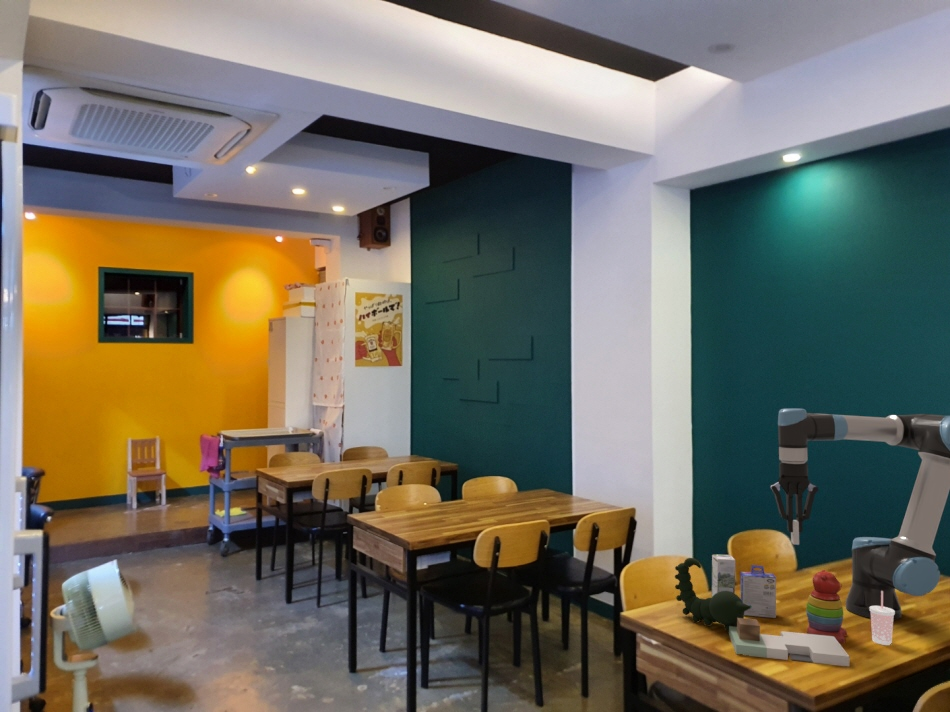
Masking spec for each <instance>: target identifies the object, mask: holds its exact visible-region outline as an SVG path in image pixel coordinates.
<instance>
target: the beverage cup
mask: <svg viewBox="0 0 950 712" xmlns="http://www.w3.org/2000/svg"><path fill="white" fill-rule="evenodd" d="M869 608H870V611H871V618H870V623H871V624H870V626H871V640H872V641H873V643H875V644H878V645H883V646H890V644H891V643H892V644H893V631H894V630H893V629H894V620H893V618H894V615H895V611H894V610H893V609H891V608H888V607H883V591H881V606H870V607H869ZM892 644H891V645H892Z"/></svg>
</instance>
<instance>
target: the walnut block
mask: <svg viewBox="0 0 950 712" xmlns="http://www.w3.org/2000/svg"><path fill="white" fill-rule="evenodd" d="M760 631H761V625H760V624H759V622H758V620H757V619H754V618H753V619H752V618H745V617H744V618H737V633H738V636H739V638H740V639H743V640H753V641H760V634H761V632H760Z"/></svg>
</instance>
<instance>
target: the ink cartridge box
mask: <svg viewBox="0 0 950 712" xmlns="http://www.w3.org/2000/svg"><path fill="white" fill-rule="evenodd" d="M756 568H757V570H755V569H756ZM750 569H751V570H750V571H740V599H741V600H742V602H743V603H744V604H746V605H748V606H750V609H748V610H746V611H745V612H744V616H747V617H749V616H750V617H758V618H759V617H760V618H770V619H775V618H776V617H777V577H776V576H775V574H774V573H771V572H770V573H767V572H765V570H764V565H757V564H756V565H755V564H752V565H750ZM758 569H759V570H758Z"/></svg>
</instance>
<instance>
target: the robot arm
mask: <svg viewBox="0 0 950 712" xmlns="http://www.w3.org/2000/svg"><path fill="white" fill-rule="evenodd" d="M777 426H778V446H779V447H778V455H779V456H778V459H779V464H778V467H779V471H778V472H779V475H778V479H777V482H775V483H774V484H770V485H769V487H770V489H771V490H772V493H773V495H774V499H775V502H776V506H777V509H778V513H779V517H780V518H782V519H784V520H786V523H787V524H786V529H787V531H788V533H790V541H791V544H793V545H795V546H796V545H797V546H799V545H800V533H803V522H804V521H806V520H807V521H808V520H810V516H811V514H812V509H813V504H814V500H815V495H816V494H817V493H818V491H819V487H818V486H816V485H814V484H812V483H811V480H810V479H809V467H808V466H809V465H808V463H807V462H808V442H813V441H815V442H817V441H822V442H823V441H833V442H834V441H842V440H850V441H851V440H852V441H865V442H867V441H868V442H869V441H870V442H880V443H881V442H884V443H886V444H887V445H889V446H897V447H904V448H907V449H913V450H916V451H917V452H918V453H917V454H918V456H919V457H920V459H921V463H920V466H919V469H918V473H917V476H916V480H915V482H914V485H913V489H912V492H911V495H910V499H909V502H908V505H907V508H906V511H905V515H904V518H903V519H902V524H901V527H900V531H899V533H898V535H897V536H896V537H894V538H886V537H875V536H872V537H871V536H862V537H861V536H860V537H854V539H853V540H852V547H851V556H852V557H851V559H852V561H851V562H852V563H851V567H852V568H851V570H852V573H851V574H852V577H851V580H852V582H851V586H850V589H849V592H848V594H847V597H846V598H845V599H846V600H845V608H846V609H847V611H849V612H851V613H853V614H855V615H857V614H858V616H861V617H865V618H868V617H869V619H871V611H870V608H869V607H870V606H881V591H883V607H888V608H891V609H893V610H894V611H895V615H894V618H893V621H894V619H895V620H899V619H901V618H902V606H901V605H900V601H899V598H898V596H897V593H896V590H897V591H898V592H900V593H904V594H906V595H910V596H915V597H922V596H925V595H927V594H930V593H932V592H933V591H934V590H935V588H937V586H938V584H939V583H940V582H939V581H940V578H941V577H940V576H941V571H940V570H939V566H938V564H937V563H936V562H935V559H936V557H937V554H936V553H935V550H934V549H933V545H934V543H935V542H934V541H935V539H936V535H937V532H938V530H939V529H938V528H939V525H940V522H941V518H942V515H943V512H944V509H945V506H946V503H947V500H948V496H949V492H950V415H942V414H928V413H919V414H917V413H916V414H902V415H901V414H899V415H897V414H890V415H888V416H886V417H880V416H862V415H861V416H860V415H846V414H845V415H844V414H831V413H830V414H828V413H813V412H811V413H810V412H807V410H806V409H804V408H781V409H779V410H778V417H777ZM780 487H781V488H782V490H783V491H784V492H785V499H786V500H785V501H786V504H785V506H786V508H785V506H784V502H783V498H782V495H781V493H780V491H781V488H780ZM806 490H807V494H806V495H807V496H806V500H805V503H804V508H803V496H804V495H803V494H804V492H805V491H806ZM794 496H795V519H794V499H793V498H794Z"/></svg>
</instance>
